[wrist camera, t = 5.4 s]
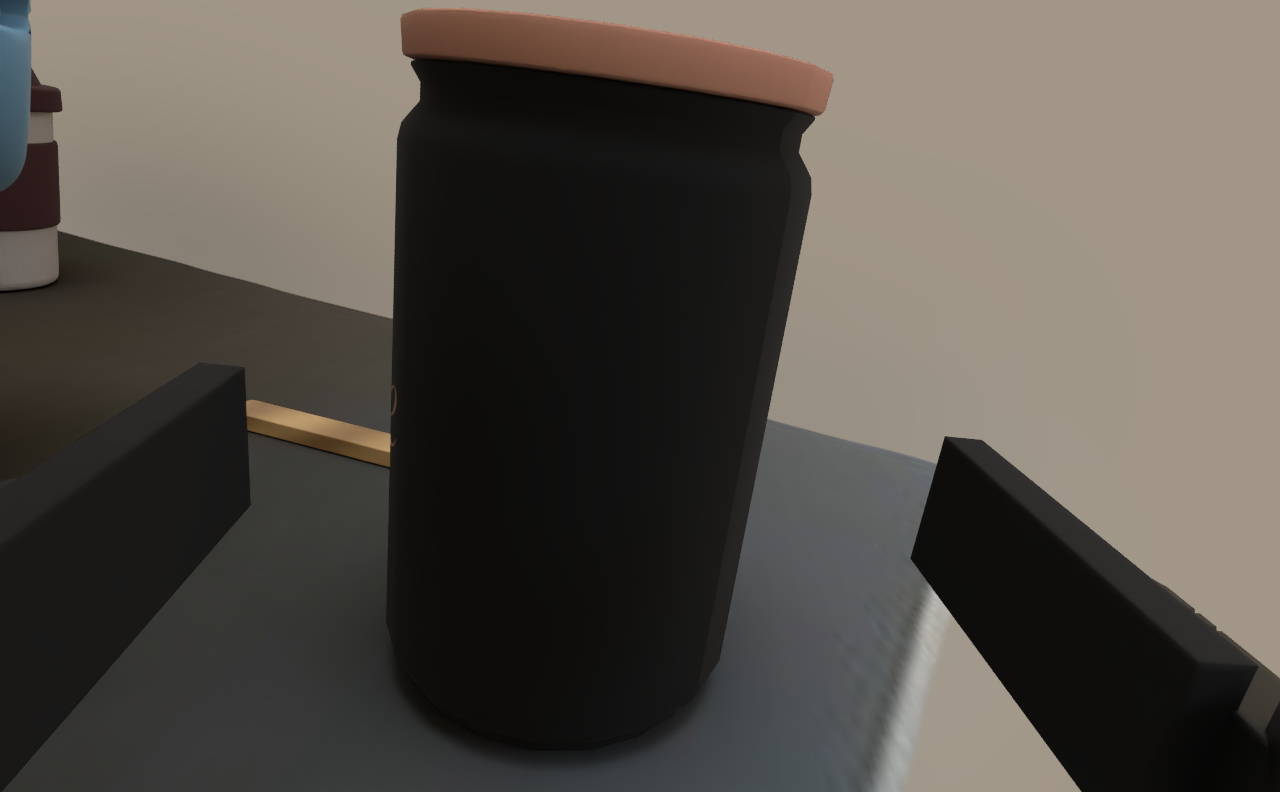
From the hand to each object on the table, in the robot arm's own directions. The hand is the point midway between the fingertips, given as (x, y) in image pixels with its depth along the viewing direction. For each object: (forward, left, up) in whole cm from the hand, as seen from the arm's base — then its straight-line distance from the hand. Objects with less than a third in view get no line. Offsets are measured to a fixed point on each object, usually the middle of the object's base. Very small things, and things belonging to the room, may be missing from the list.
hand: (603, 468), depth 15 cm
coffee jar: (-3, +7, -10) cm, 13 cm away
